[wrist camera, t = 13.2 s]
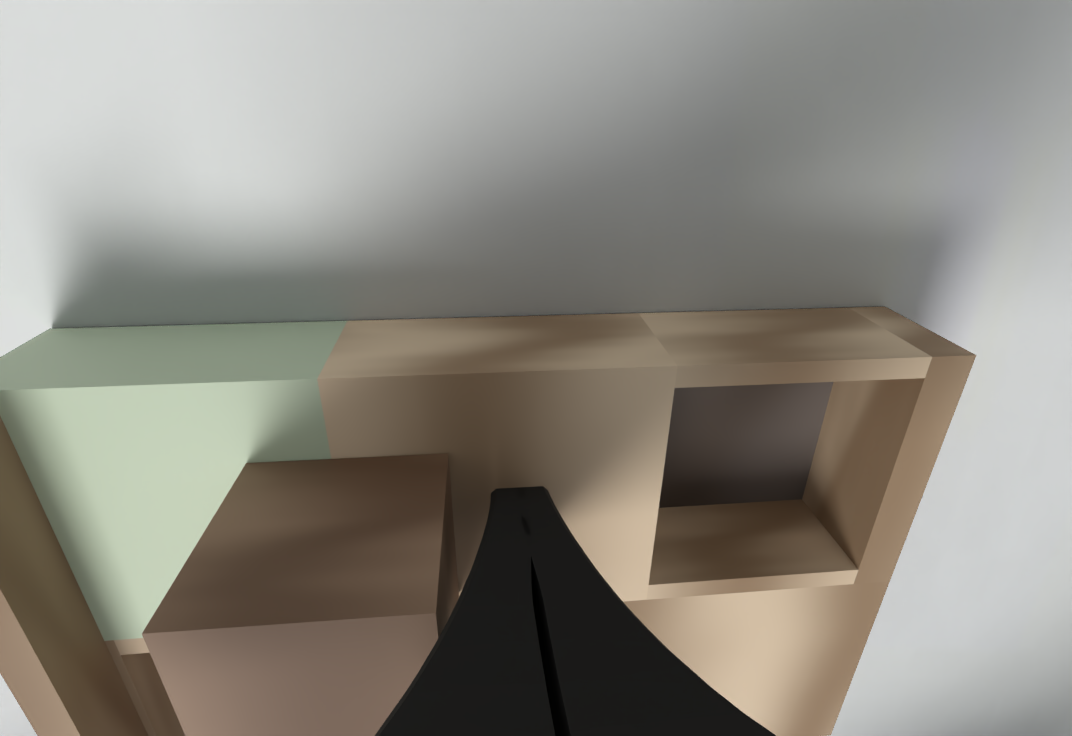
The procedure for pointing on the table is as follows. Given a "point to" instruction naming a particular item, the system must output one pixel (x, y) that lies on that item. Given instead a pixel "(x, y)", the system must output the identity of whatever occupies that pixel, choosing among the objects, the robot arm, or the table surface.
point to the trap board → (598, 488)
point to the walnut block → (310, 598)
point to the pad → (155, 440)
